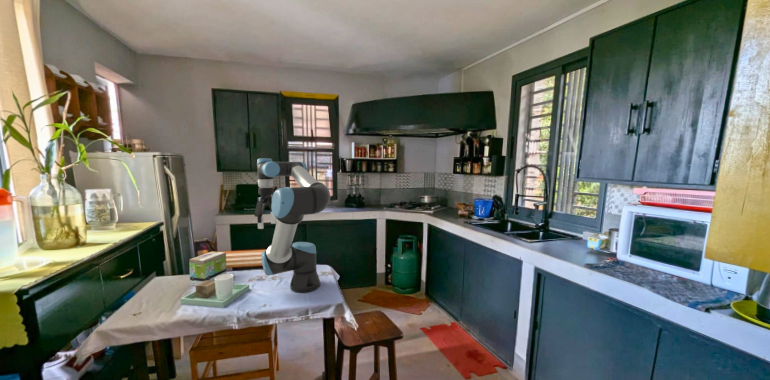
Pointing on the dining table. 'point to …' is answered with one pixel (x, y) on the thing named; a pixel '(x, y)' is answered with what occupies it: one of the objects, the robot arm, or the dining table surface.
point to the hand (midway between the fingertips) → (267, 226)
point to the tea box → (207, 267)
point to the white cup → (224, 286)
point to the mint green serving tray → (215, 297)
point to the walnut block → (205, 289)
